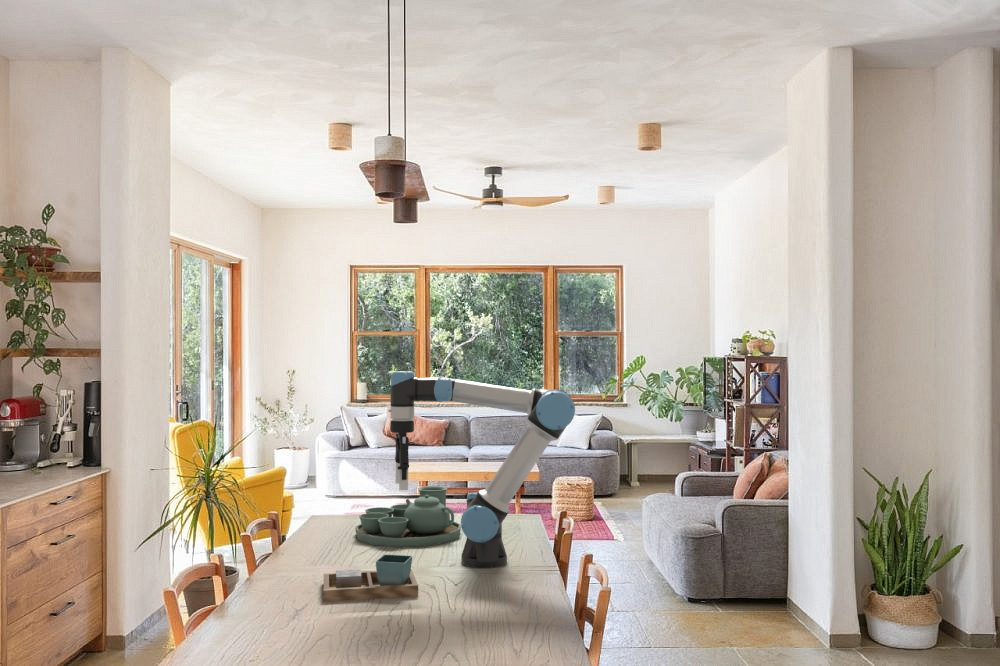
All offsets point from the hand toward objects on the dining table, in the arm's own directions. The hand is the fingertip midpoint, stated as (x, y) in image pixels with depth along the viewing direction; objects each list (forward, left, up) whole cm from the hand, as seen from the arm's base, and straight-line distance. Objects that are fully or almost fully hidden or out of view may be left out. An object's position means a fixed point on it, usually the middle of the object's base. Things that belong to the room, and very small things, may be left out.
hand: (401, 486), depth 263 cm
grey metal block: (+17, +22, -26) cm, 38 cm away
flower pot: (+4, +23, -26) cm, 35 cm away
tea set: (-7, -51, -27) cm, 58 cm away
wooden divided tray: (+11, +22, -27) cm, 36 cm away
